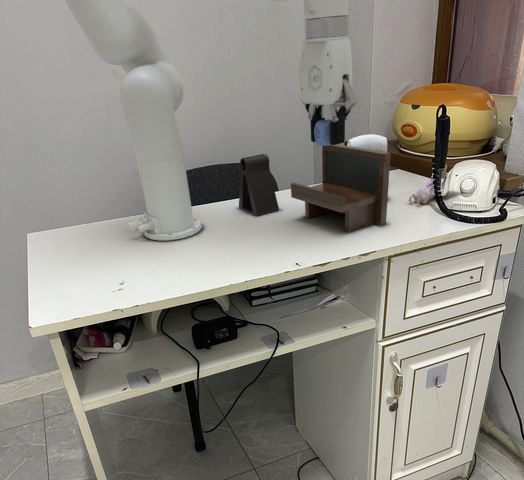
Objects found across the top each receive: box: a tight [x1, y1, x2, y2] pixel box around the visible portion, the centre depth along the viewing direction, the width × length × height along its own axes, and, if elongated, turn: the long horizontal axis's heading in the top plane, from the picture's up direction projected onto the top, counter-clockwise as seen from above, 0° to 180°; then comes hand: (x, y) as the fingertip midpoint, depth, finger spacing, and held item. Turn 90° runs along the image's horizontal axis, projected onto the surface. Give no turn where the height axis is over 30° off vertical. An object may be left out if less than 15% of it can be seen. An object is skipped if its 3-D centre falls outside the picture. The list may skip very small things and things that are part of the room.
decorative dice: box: [314, 118, 333, 146], centre depth 94 cm, size 4×4×4 cm
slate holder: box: [290, 144, 391, 233], centre depth 101 cm, size 11×18×14 cm, turn 34°
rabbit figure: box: [408, 174, 444, 207], centre depth 111 cm, size 6×6×15 cm
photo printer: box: [346, 133, 388, 152], centre depth 122 cm, size 10×4×12 cm, turn 98°
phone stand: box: [238, 153, 280, 217], centre depth 113 cm, size 9×6×12 cm, turn 30°
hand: (327, 141), depth 95 cm, fingers closed on decorative dice, 5 cm apart
